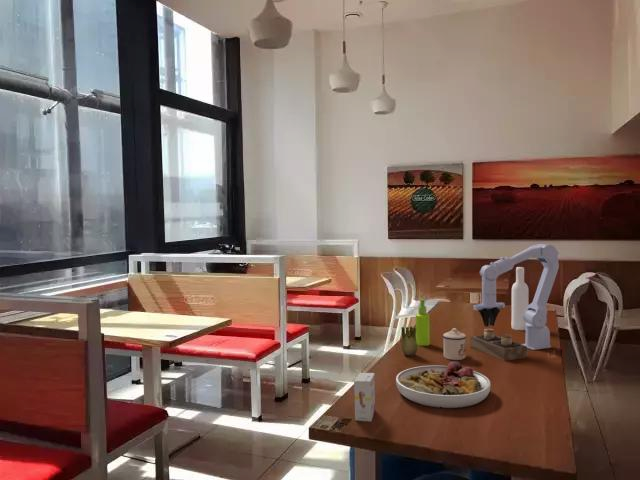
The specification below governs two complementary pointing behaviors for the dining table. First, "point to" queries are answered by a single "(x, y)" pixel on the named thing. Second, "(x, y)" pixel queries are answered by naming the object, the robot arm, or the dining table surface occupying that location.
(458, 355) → the teacup with lid
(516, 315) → the bottle
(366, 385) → the ink box
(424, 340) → the soap dispenser
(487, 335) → the peg
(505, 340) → the peg
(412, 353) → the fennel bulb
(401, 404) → the dining table surface
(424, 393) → the bowl
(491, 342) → the walnut block
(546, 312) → the robot arm
